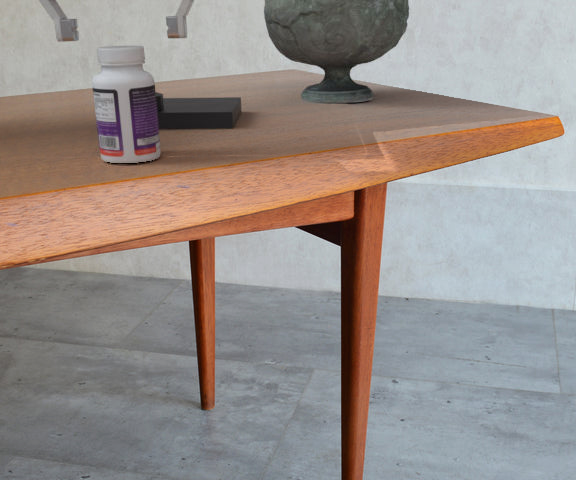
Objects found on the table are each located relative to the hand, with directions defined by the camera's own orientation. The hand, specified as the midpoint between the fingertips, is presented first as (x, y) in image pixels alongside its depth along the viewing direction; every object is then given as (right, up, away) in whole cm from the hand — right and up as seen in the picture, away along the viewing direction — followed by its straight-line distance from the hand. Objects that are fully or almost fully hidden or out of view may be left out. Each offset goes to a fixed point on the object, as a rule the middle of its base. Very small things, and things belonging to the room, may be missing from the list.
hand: (122, 39), depth 63 cm
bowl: (+21, +5, +40) cm, 45 cm away
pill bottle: (0, -10, +4) cm, 11 cm away
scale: (+1, -2, +23) cm, 24 cm away
